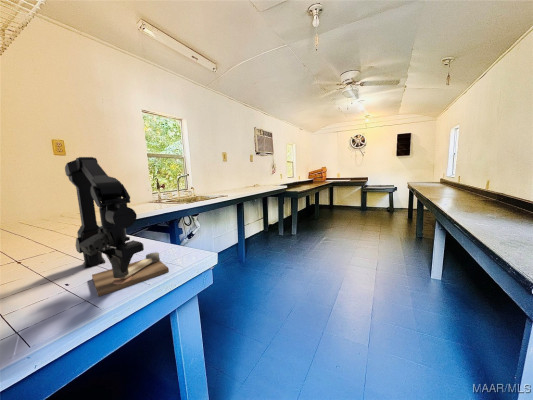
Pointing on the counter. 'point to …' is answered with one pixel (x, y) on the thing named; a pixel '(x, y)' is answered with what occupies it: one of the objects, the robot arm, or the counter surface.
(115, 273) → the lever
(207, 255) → the counter surface
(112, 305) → the counter surface
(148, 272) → the board
